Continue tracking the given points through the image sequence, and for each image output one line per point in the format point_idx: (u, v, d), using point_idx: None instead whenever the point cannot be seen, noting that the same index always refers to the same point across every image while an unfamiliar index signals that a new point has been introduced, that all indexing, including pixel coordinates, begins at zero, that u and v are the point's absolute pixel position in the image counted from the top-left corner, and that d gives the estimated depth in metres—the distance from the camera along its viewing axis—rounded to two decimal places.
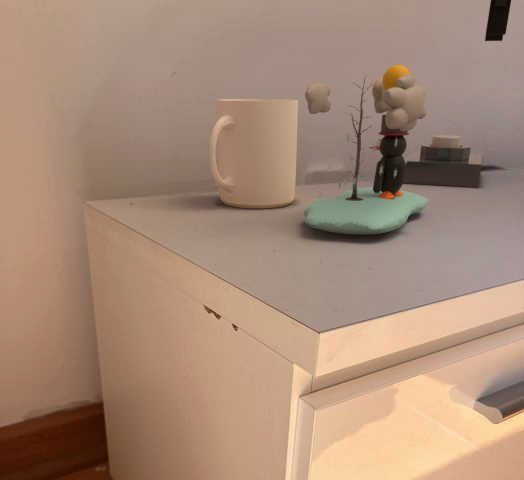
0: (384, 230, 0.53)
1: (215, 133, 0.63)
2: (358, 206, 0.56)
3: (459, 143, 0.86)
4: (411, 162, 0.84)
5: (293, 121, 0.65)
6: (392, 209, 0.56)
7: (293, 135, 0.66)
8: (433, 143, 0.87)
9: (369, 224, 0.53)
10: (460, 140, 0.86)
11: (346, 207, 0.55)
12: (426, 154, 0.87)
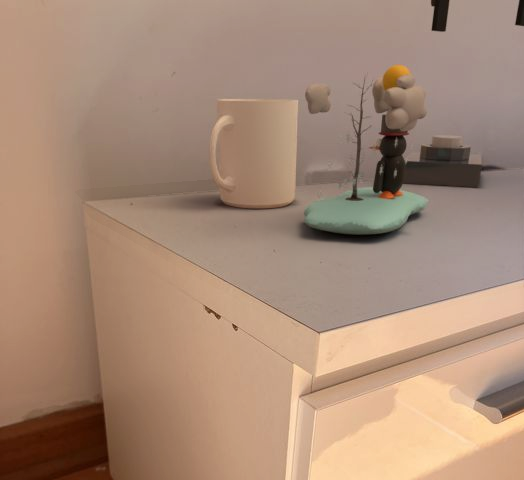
0: (384, 230, 0.53)
1: (215, 133, 0.63)
2: (358, 206, 0.56)
3: (459, 143, 0.86)
4: (411, 162, 0.84)
5: (293, 121, 0.65)
6: (392, 209, 0.56)
7: (293, 135, 0.66)
8: (433, 143, 0.87)
9: (369, 224, 0.53)
10: (460, 140, 0.86)
11: (346, 207, 0.55)
12: (426, 154, 0.87)
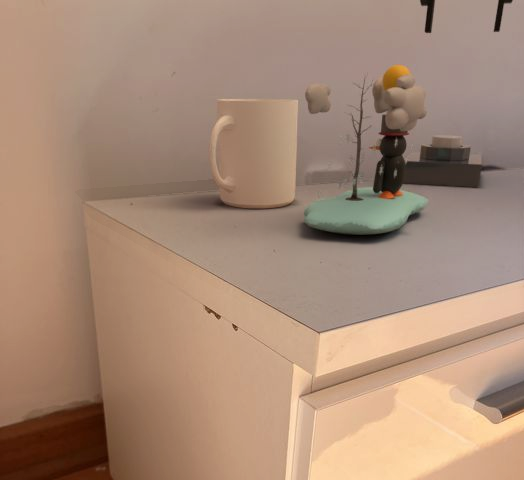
0: (384, 230, 0.53)
1: (215, 133, 0.63)
2: (358, 206, 0.56)
3: (459, 143, 0.86)
4: (411, 162, 0.84)
5: (293, 121, 0.65)
6: (392, 209, 0.56)
7: (293, 135, 0.66)
8: (433, 143, 0.87)
9: (369, 224, 0.53)
10: (460, 140, 0.86)
11: (346, 207, 0.55)
12: (426, 154, 0.87)
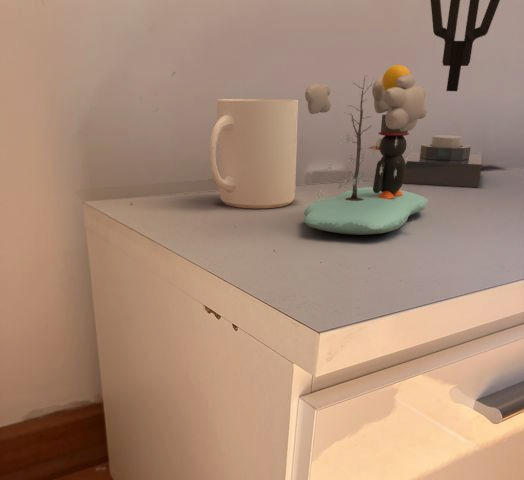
0: (384, 230, 0.53)
1: (215, 133, 0.63)
2: (358, 206, 0.56)
3: (459, 143, 0.86)
4: (411, 162, 0.84)
5: (293, 121, 0.65)
6: (392, 209, 0.56)
7: (293, 135, 0.66)
8: (433, 143, 0.87)
9: (369, 224, 0.53)
10: (460, 140, 0.86)
11: (346, 207, 0.55)
12: (426, 154, 0.87)
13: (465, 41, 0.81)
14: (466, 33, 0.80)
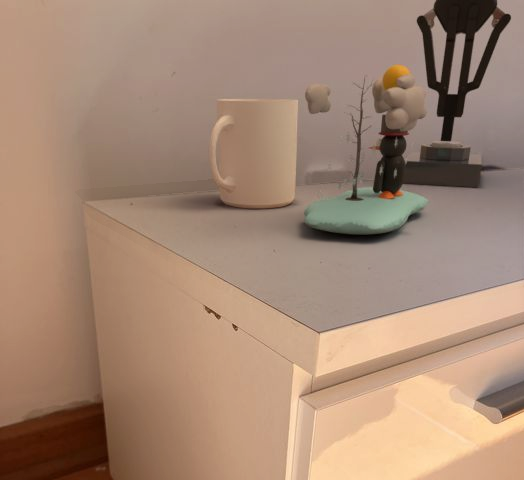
0: (384, 230, 0.53)
1: (215, 133, 0.63)
2: (358, 206, 0.56)
3: None
4: (411, 162, 0.84)
5: (293, 121, 0.65)
6: (392, 209, 0.56)
7: (293, 135, 0.66)
8: None
9: (369, 224, 0.53)
10: (459, 146, 0.86)
11: (346, 207, 0.55)
12: (426, 154, 0.87)
13: (458, 94, 0.84)
14: (459, 87, 0.83)
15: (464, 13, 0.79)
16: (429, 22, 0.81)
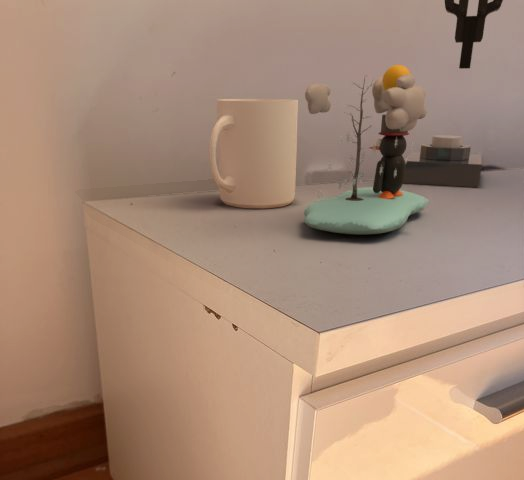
0: (384, 230, 0.53)
1: (215, 133, 0.63)
2: (358, 206, 0.56)
3: (459, 143, 0.86)
4: (411, 162, 0.84)
5: (293, 121, 0.65)
6: (392, 209, 0.56)
7: (293, 135, 0.66)
8: (433, 143, 0.87)
9: (369, 224, 0.53)
10: (460, 140, 0.86)
11: (346, 207, 0.55)
12: (426, 154, 0.87)
13: (478, 16, 0.80)
14: (479, 8, 0.79)
15: None
16: None
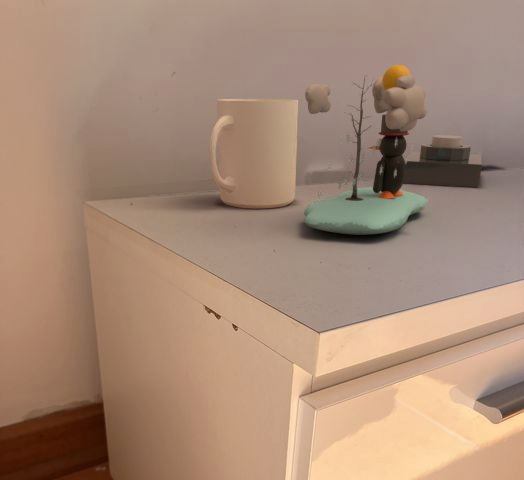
0: (384, 230, 0.53)
1: (215, 133, 0.63)
2: (358, 206, 0.56)
3: (459, 143, 0.86)
4: (411, 162, 0.84)
5: (293, 121, 0.65)
6: (392, 209, 0.56)
7: (293, 135, 0.66)
8: (433, 143, 0.87)
9: (369, 224, 0.53)
10: (460, 140, 0.86)
11: (346, 207, 0.55)
12: (426, 154, 0.87)
13: None
14: None
15: None
16: None
